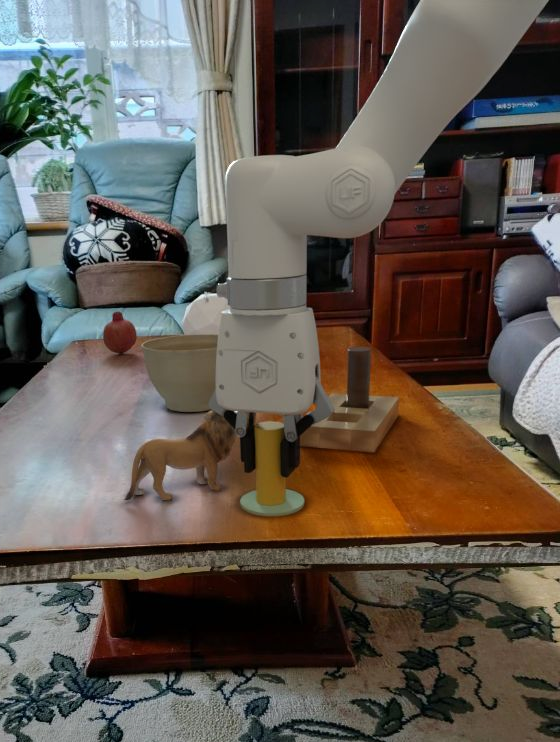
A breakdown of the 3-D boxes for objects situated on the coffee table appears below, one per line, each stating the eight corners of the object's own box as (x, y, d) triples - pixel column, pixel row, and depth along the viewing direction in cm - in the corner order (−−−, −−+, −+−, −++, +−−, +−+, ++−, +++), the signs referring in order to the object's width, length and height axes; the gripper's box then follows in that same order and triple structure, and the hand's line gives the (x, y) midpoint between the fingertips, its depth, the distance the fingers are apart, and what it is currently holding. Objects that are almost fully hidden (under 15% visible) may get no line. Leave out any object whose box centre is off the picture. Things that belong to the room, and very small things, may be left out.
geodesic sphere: (245, 334, 143) (243, 274, 147) (178, 337, 144) (177, 278, 148) (245, 365, 158) (243, 310, 161) (184, 368, 158) (183, 313, 162)
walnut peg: (370, 421, 101) (372, 347, 97) (366, 427, 98) (368, 351, 94) (348, 419, 102) (350, 346, 98) (343, 426, 99) (345, 350, 95)
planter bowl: (261, 407, 111) (259, 340, 107) (172, 425, 104) (167, 355, 100) (213, 389, 125) (210, 329, 121) (132, 404, 118) (126, 341, 114)
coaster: (312, 495, 76) (312, 491, 76) (293, 520, 70) (293, 516, 70) (253, 488, 79) (253, 485, 79) (230, 511, 73) (230, 508, 73)
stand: (398, 416, 102) (399, 397, 101) (374, 453, 88) (374, 430, 87) (331, 412, 107) (331, 393, 105) (297, 446, 92) (297, 425, 91)
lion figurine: (225, 470, 85) (222, 400, 82) (248, 483, 80) (246, 409, 77) (116, 498, 78) (108, 423, 75) (135, 513, 74) (127, 434, 71)
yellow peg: (289, 496, 75) (288, 422, 72) (280, 507, 72) (279, 431, 69) (262, 493, 76) (260, 420, 73) (252, 503, 74) (250, 428, 71)
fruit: (119, 358, 157) (115, 314, 154) (97, 355, 163) (93, 312, 159) (145, 352, 163) (141, 309, 159) (123, 349, 168) (119, 308, 164)
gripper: (175, 300, 67) (186, 474, 73) (341, 300, 60) (337, 492, 67) (206, 291, 73) (214, 452, 80) (360, 290, 66) (355, 467, 73)
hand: (270, 469), depth 73 cm, fingers open, 3 cm apart
